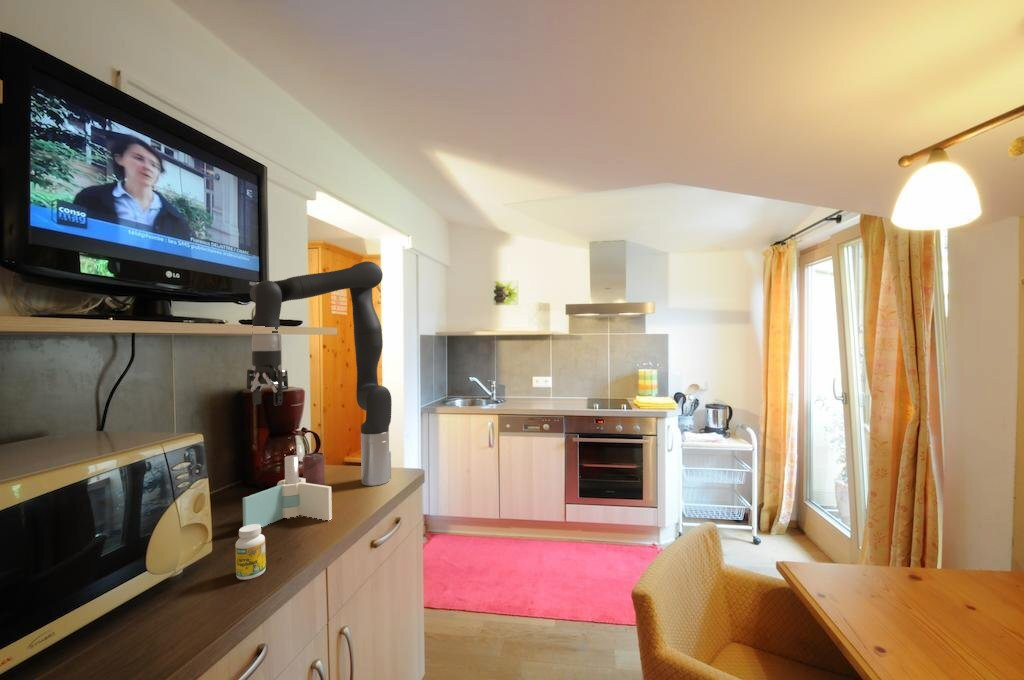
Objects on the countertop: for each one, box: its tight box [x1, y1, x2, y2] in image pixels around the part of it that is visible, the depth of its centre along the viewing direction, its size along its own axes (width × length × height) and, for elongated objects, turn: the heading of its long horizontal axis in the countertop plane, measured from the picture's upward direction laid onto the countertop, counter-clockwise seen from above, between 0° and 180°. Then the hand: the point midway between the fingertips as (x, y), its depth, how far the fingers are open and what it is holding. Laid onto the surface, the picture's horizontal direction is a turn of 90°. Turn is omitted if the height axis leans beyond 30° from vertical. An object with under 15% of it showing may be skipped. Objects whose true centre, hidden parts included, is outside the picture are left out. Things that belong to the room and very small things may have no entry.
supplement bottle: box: [234, 524, 267, 581], centre depth 92 cm, size 5×5×10 cm
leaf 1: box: [242, 485, 300, 528], centre depth 120 cm, size 18×7×9 cm, turn 157°
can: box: [302, 452, 326, 486], centre depth 135 cm, size 6×6×14 cm
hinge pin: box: [284, 454, 300, 485], centre depth 125 cm, size 4×4×16 cm
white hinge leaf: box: [276, 477, 333, 522], centre depth 123 cm, size 7×18×9 cm, turn 67°
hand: (267, 404), depth 130 cm, fingers open, 8 cm apart
